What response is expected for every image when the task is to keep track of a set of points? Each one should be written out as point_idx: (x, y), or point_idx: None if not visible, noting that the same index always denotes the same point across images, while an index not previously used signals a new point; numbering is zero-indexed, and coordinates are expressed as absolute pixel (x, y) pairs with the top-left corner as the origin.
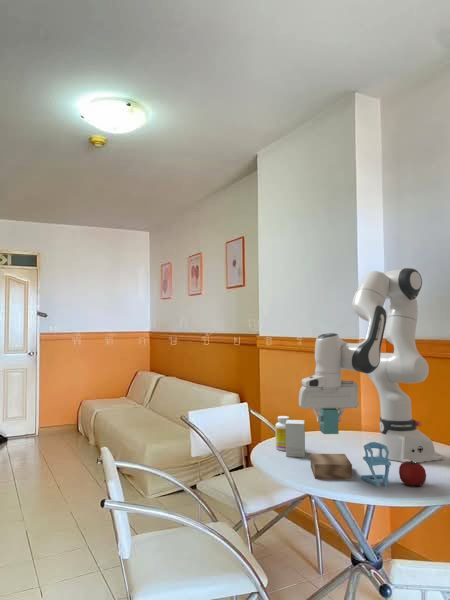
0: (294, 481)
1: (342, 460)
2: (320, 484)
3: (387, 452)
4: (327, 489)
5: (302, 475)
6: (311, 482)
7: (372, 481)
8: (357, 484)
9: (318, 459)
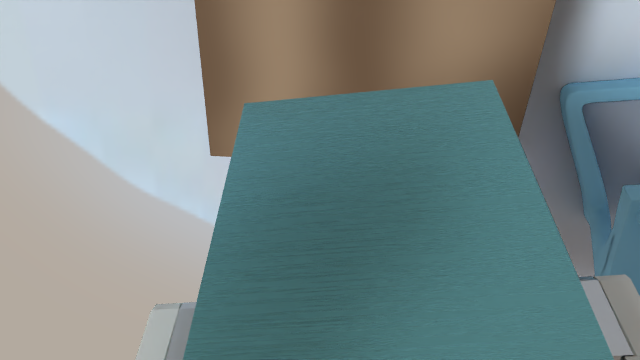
0: (93, 141)
1: (474, 68)
2: None
3: None
4: None
5: (137, 34)
6: (202, 156)
7: (585, 192)
8: None
9: (252, 39)
